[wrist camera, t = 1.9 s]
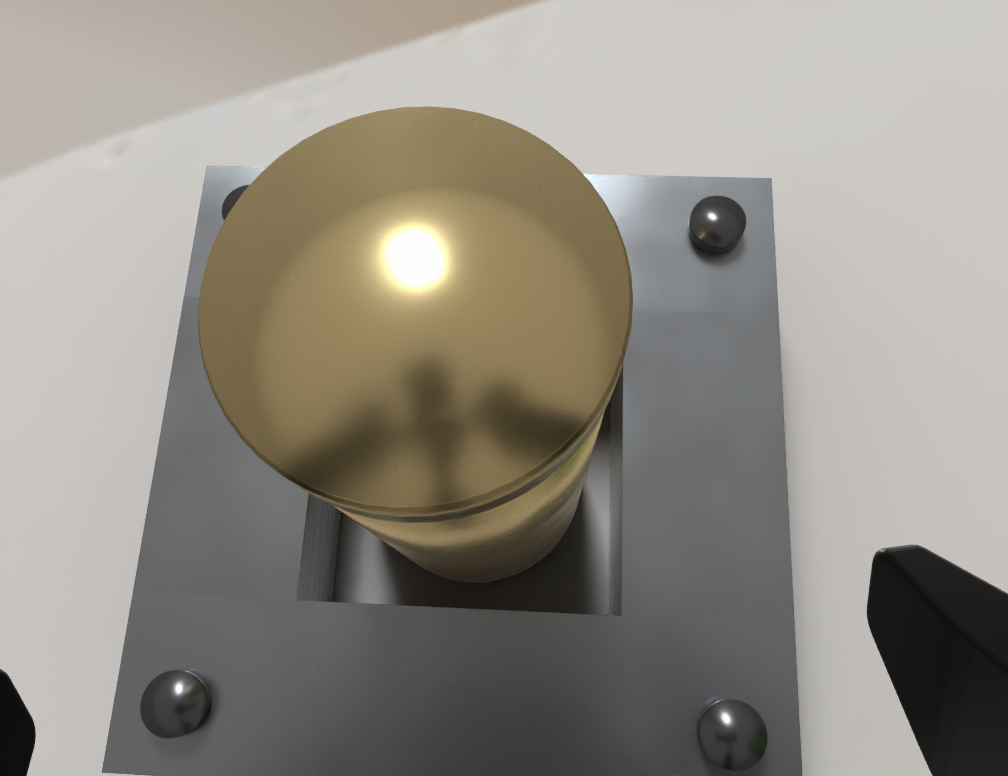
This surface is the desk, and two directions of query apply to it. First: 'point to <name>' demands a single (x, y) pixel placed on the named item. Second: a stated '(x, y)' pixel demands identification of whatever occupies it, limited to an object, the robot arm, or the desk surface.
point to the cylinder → (423, 331)
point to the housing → (481, 632)
